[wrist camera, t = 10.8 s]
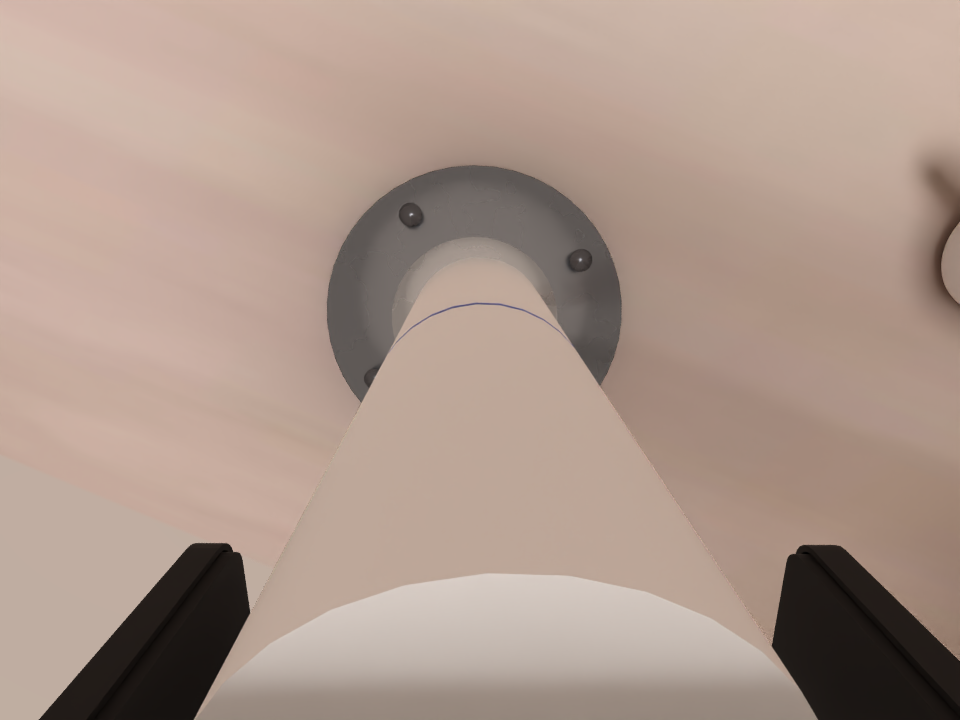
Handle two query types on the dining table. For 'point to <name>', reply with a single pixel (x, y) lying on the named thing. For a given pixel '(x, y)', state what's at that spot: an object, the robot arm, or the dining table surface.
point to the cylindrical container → (495, 549)
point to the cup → (952, 264)
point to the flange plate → (466, 234)
